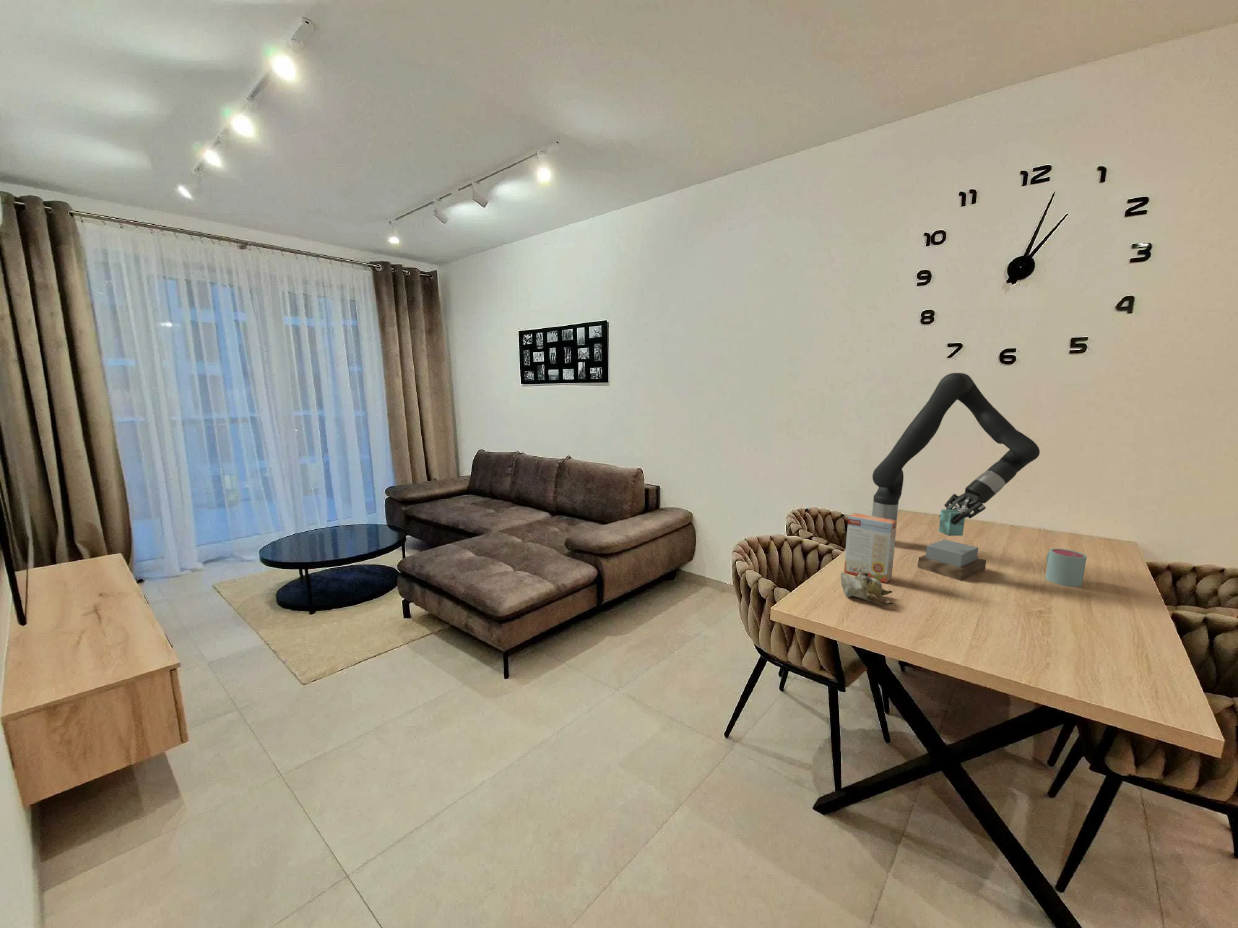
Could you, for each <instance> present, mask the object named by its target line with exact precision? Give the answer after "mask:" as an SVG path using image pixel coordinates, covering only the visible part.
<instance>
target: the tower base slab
mask: <svg viewBox="0 0 1238 928" xmlns="http://www.w3.org/2000/svg"><path fill="white" fill-rule="evenodd" d="M986 563H987V559H983V558H981V557H980V558H979V557H977V560H975V561H973V562H971V563H968V564H966V565H964V566H962V567H957V566H953V565H950V564H946V563H942V562H939V561H935V560H931V559H928V558H926V554H924V555H921V556H918V560H917V568H918V569H921V570H925V571H928V572H931V573H934V574H937V575H941V576H944V577H947V578H951V579H952V580H953V579H954V580H956V581H959V582H960V581H963V580H966V579H968V578H971V577H972V576H975V575H977V574H980V573H982V572H985V571H986V565H987V564H986Z"/></svg>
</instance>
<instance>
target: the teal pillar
mask: <svg viewBox="0 0 1238 928" xmlns="http://www.w3.org/2000/svg"><path fill="white" fill-rule="evenodd" d="M959 512H960V510H955V509H954V508H952V509H946V508H945V509H940V514H941V515H940V514H939V515H940V517H939V525H938V532H939V533H941V534H944V535H946V536H948V537H950V536H951V537H955V536H956V537H958V536H959V537H961V536H963V535H964V528H965V520H966V518H963V519H962V520H961V521H960V522H958V523H957V524H956V525H954V524H952V523H951V522H950V520H951V519H952V518H953V517H954V516H955V515H956V514H958V513H959Z"/></svg>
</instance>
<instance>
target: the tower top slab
mask: <svg viewBox="0 0 1238 928" xmlns="http://www.w3.org/2000/svg"><path fill="white" fill-rule="evenodd" d="M978 554H979V547H978V546H973V545H968V544H965V543H961V542H957V541H953V540H948V539H942V540H939V541H937V542H934V543H931V544H928V545H927V546H926V551H925V555H926V558H928V559H931V560H935V561H939V562H942V563H946V564H950V565H953V566H957V567H962V566H964V565H966V564H968V563H971V562H973V561H975V560H977V558H978V556H979V555H978Z"/></svg>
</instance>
